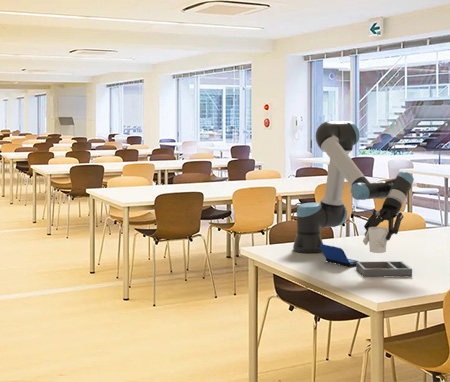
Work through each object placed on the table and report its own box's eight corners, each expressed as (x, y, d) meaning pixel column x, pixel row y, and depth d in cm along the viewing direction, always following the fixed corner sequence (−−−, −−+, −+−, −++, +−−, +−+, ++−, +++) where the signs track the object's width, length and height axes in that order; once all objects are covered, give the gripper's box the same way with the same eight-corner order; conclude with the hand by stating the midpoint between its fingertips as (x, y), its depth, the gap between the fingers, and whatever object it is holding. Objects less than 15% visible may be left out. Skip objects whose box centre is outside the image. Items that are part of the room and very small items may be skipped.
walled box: (363, 277, 275) (364, 269, 274) (356, 268, 290) (356, 261, 289) (412, 276, 275) (412, 269, 275) (401, 268, 290) (402, 261, 290)
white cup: (387, 253, 276) (387, 229, 275) (368, 253, 278) (368, 229, 277) (386, 249, 284) (387, 226, 283) (368, 249, 286) (368, 226, 285)
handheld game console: (364, 265, 297) (364, 245, 296) (341, 269, 290) (342, 248, 289) (340, 259, 310) (340, 240, 309) (318, 263, 303) (318, 243, 302)
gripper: (418, 209, 283) (398, 252, 273) (376, 205, 297) (355, 246, 287) (412, 198, 279) (392, 241, 269) (369, 195, 293) (349, 236, 283)
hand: (373, 244), depth 278 cm, fingers closed on white cup, 8 cm apart
